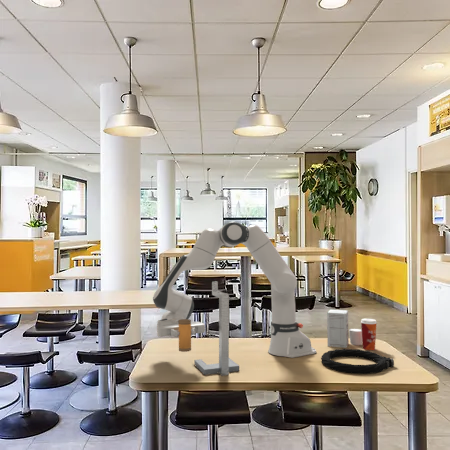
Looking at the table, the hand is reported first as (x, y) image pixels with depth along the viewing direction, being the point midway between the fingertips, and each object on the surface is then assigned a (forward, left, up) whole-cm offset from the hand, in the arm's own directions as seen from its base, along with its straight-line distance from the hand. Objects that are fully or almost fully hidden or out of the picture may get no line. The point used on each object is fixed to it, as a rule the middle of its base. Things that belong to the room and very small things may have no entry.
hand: (185, 333), depth 183 cm
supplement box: (-83, -16, -16) cm, 86 cm away
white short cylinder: (-93, -15, -16) cm, 95 cm away
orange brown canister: (0, -1, -7) cm, 7 cm away
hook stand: (-14, +2, -16) cm, 21 cm away
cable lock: (-72, +14, -16) cm, 75 cm away
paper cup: (-93, -5, -16) cm, 94 cm away
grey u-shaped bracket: (-14, -2, -16) cm, 21 cm away
